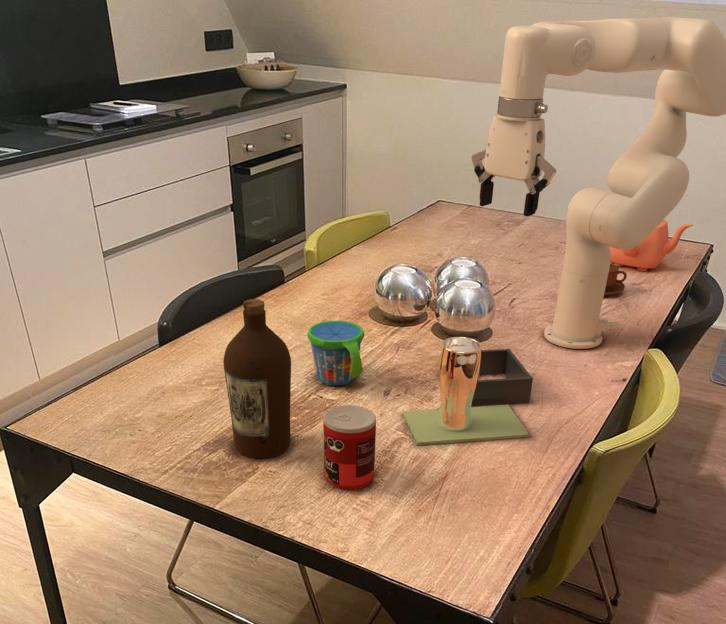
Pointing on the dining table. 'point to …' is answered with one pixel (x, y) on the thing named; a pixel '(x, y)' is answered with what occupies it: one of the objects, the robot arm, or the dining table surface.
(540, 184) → the robot arm
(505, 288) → the dining table surface
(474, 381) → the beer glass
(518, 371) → the basin
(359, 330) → the snack cup
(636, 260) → the teapot
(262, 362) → the olive oil
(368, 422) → the canned food
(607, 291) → the cup and saucer
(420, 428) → the drying mat
